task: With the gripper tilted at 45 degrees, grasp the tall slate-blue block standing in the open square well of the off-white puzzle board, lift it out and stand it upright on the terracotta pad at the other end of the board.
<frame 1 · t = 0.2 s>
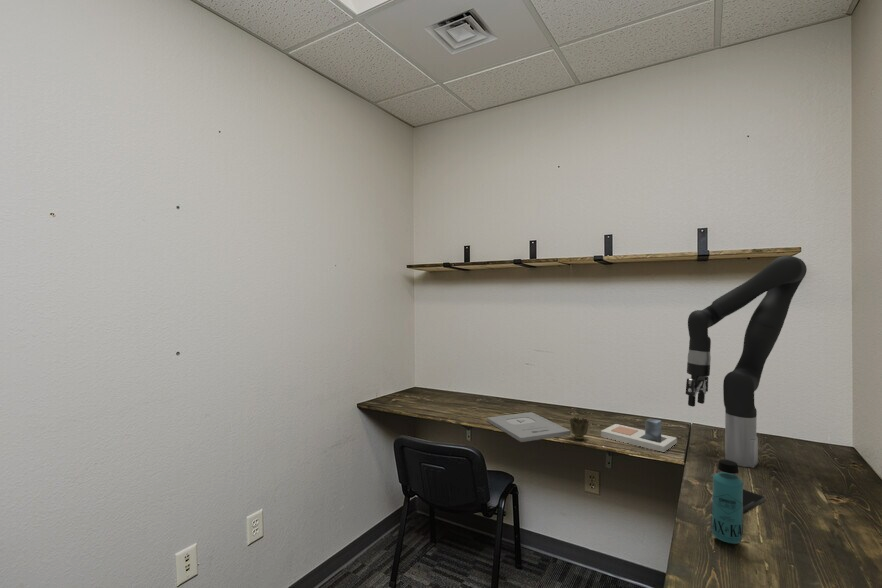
hand: (696, 404, 165), 18 cm above the table, tool pointing down, fingers open, 8 cm apart
dark brown textured piece: (579, 439, 179), on the table
puzzle board: (637, 440, 177), on the table
award plaque: (526, 429, 194), on the table
phone: (739, 503, 127), on the table
blue block: (653, 444, 173), resting in puzzle board
beverage bottle: (727, 543, 106), on the table
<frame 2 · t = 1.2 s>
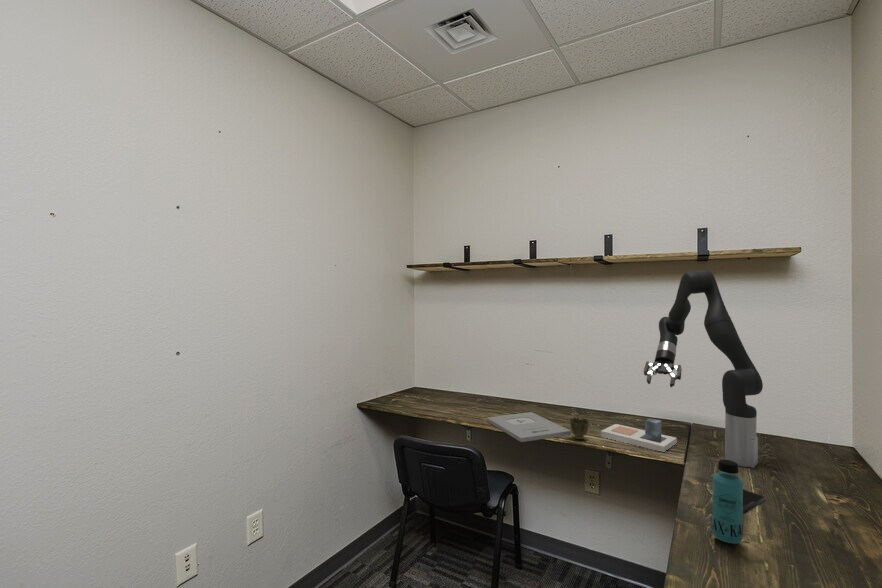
hand: (659, 384, 182), 22 cm above the table, tool tilted 45°, fingers open, 8 cm apart
nothing on the table moved.
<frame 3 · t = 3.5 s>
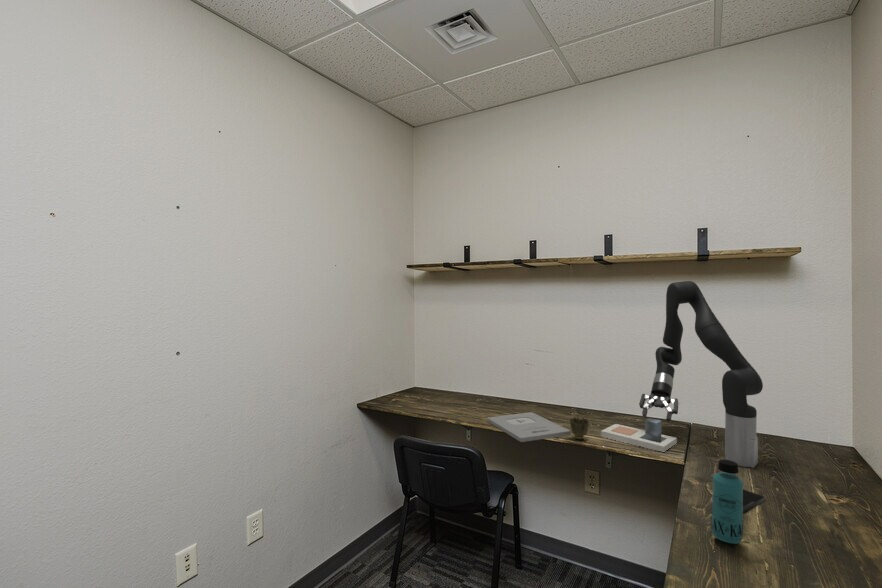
hand: (655, 419, 176), 9 cm above the table, tool tilted 45°, fingers open, 8 cm apart
nothing on the table moved.
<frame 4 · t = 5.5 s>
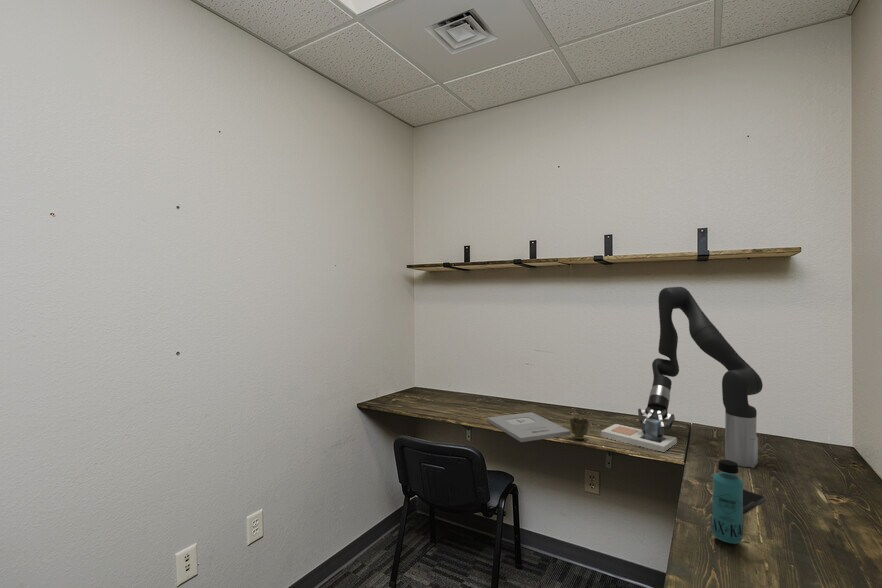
hand: (652, 434, 171), 4 cm above the table, tool tilted 45°, fingers closed on blue block, 5 cm apart
blue block: (653, 444, 173), resting in puzzle board, touching gripper
everything else where it was.
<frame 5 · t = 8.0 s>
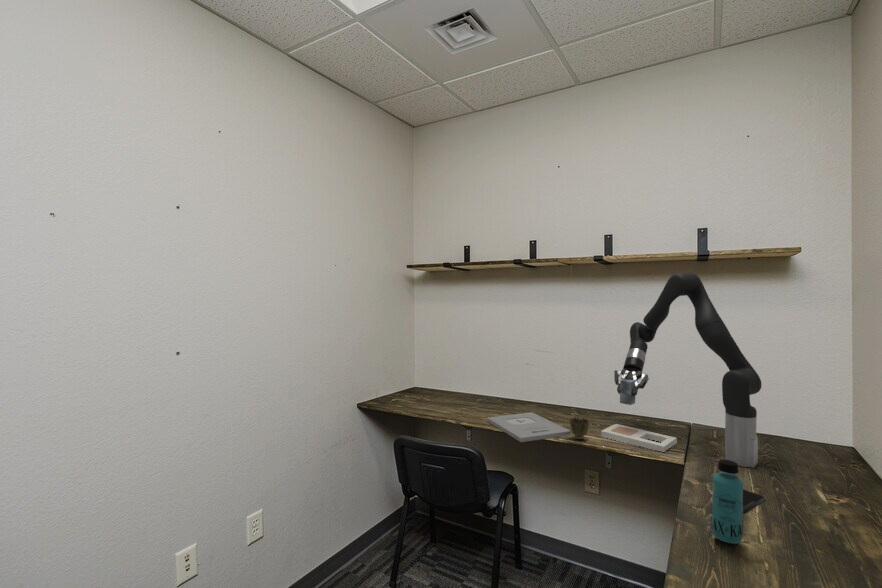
hand: (626, 393, 179), 19 cm above the table, tool tilted 45°, fingers closed on blue block, 5 cm apart
blue block: (627, 402, 181), point 14 cm above the table, touching gripper
everything else where it was.
when the fingers open (8 cm above the table, at t = 10.4 s): blue block drops 1 cm, resting on puzzle board.
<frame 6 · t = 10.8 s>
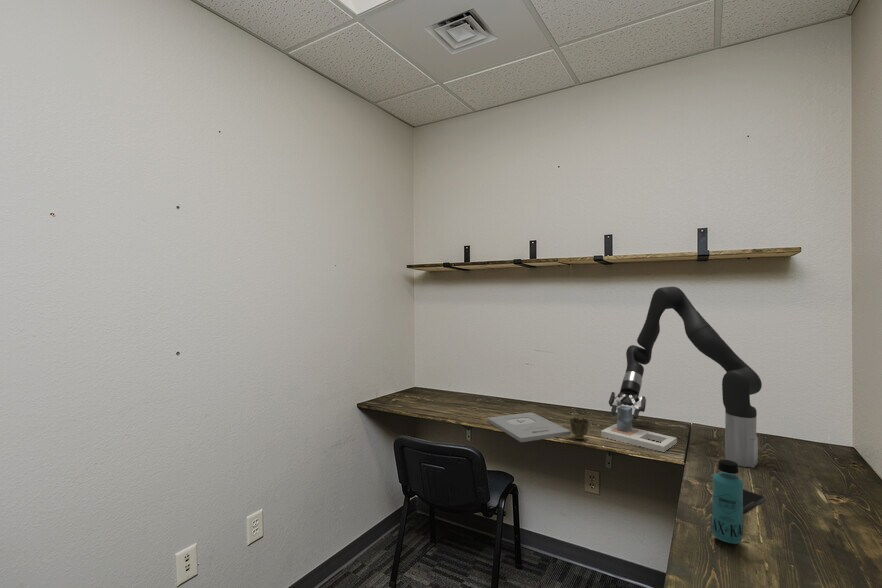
hand: (623, 416, 180), 9 cm above the table, tool tilted 45°, fingers open, 8 cm apart
blue block: (624, 430, 181), point 3 cm above the table, touching puzzle board
everything else where it was.
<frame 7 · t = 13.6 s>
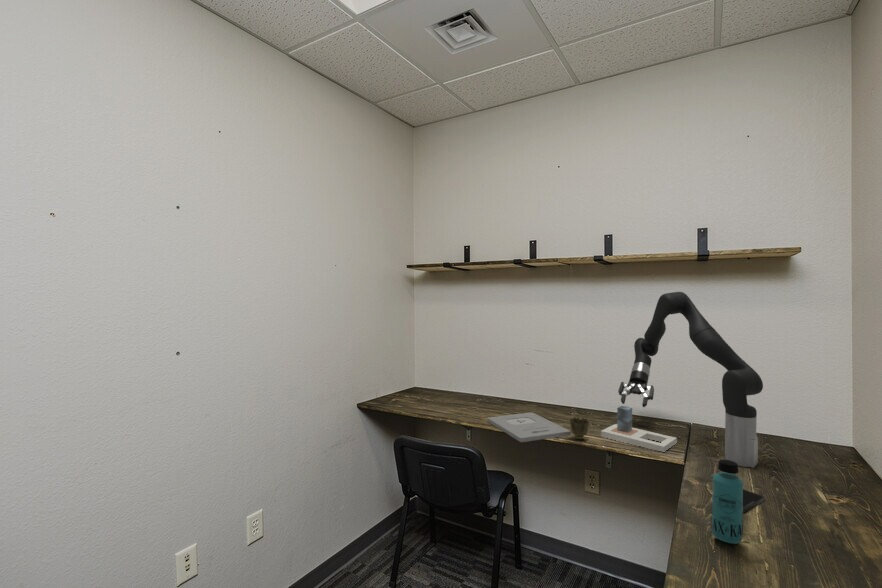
hand: (633, 404, 190), 11 cm above the table, tool tilted 45°, fingers open, 8 cm apart
nothing on the table moved.
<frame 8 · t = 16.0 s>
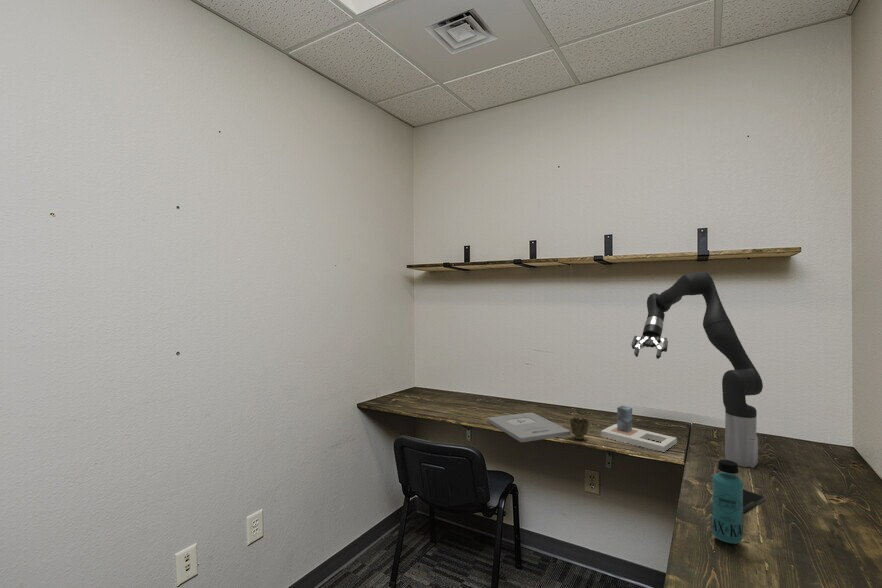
hand: (646, 356, 189), 33 cm above the table, tool tilted 45°, fingers open, 8 cm apart
nothing on the table moved.
at the end: blue block 0.1 cm from the target spot, point 2.8 cm above the table; blue block tilted 0°; the gripper is holding nothing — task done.
